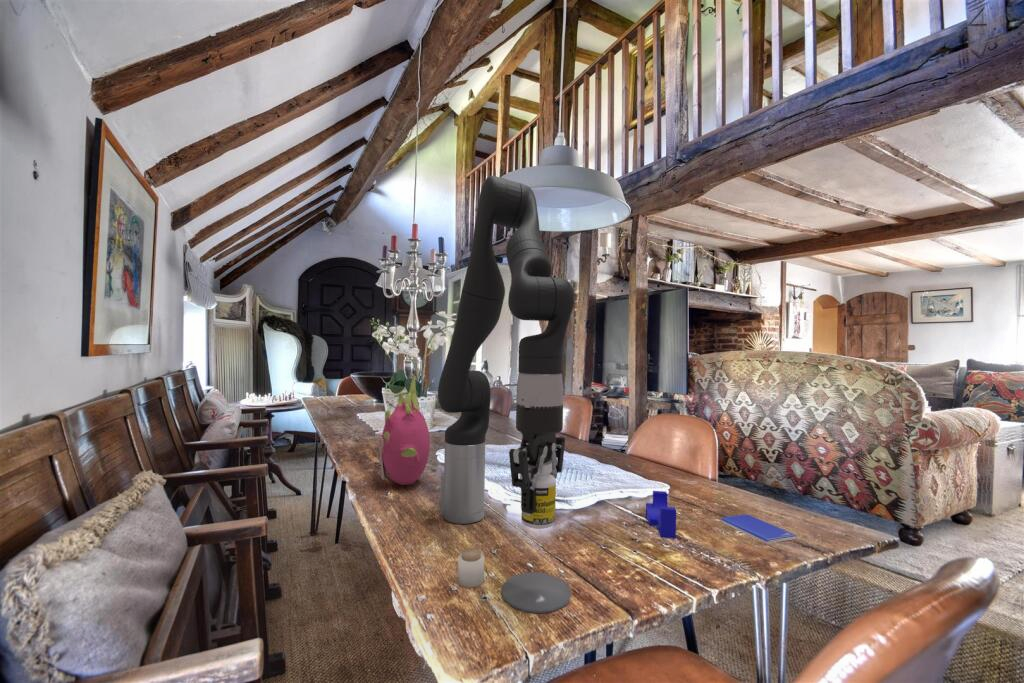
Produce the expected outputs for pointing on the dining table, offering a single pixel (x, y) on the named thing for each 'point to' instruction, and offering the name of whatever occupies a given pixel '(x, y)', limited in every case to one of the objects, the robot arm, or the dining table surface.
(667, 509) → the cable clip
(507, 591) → the slate coaster
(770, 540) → the hard drive
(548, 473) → the supplement bottle
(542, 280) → the robot arm
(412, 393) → the pink dragon fruit
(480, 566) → the salt cellar
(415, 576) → the dining table surface
